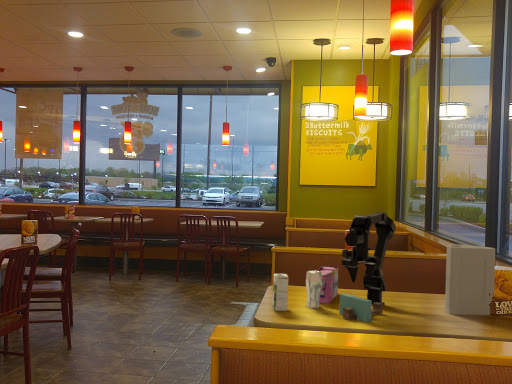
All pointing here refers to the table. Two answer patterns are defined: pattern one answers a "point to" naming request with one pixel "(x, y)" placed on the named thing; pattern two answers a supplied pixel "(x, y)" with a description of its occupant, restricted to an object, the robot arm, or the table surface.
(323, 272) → the gum box
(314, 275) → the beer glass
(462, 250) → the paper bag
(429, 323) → the table surface
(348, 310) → the walnut rail
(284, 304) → the syrup box
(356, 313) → the teal plate
